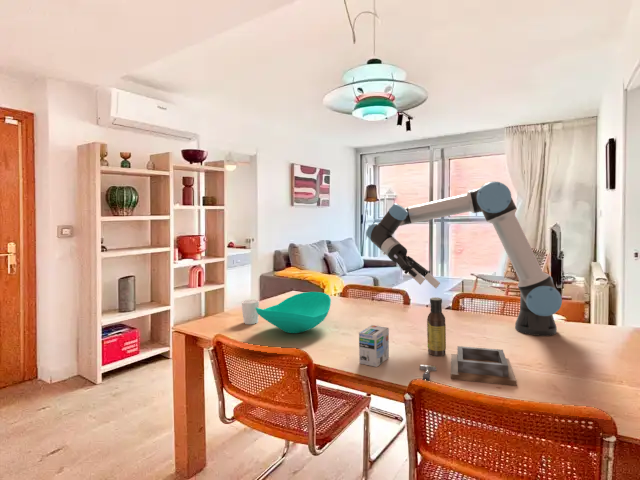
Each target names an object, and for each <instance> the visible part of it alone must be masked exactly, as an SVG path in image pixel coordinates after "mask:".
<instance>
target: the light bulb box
mask: <svg viewBox="0 0 640 480" xmlns="http://www.w3.org/2000/svg"><path fill="white" fill-rule="evenodd" d="M389 333H390V328H389V327H387V326H379V325H374V324H371V325H369V326H368V327H367V328H364V329H363V330H362V331H360V332H358V349H359V350H358V351H359V354H358V355H359V359H358V360H359V361H358V362H359V364H361V365H365V366H366V365H367V366H370V367H375V368H377V367H379V366H380V365H381V364H382V363H384V362H386V360H388V359H389V358H390V357H389V356H390V347H389V346H390V345H389V343H390V341H389V339H390V337H389Z"/></svg>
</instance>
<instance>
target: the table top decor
mask: <svg viewBox="0 0 640 480" xmlns="http://www.w3.org/2000/svg"><path fill="white" fill-rule="evenodd" d="M331 303H332V299H331V297H330V295H329V294H327V293H326V292H321V291H306V292H301V293H296V294H294V295H292V296H289V297H288V298H286V299H284V300H282V301H281V302H279V303H278V304H274V305H272V306H268V307H266V308H264V309H263V308H261V307H259V308H256V311H257V313H258V314H259V317H261V318H262V319H263V320H265V321H267V323H268V322H269V323H270V324H271V325H273V326H274V327H276V328H278V329H279V330H282V331H283V332H285V333H288V334H299V333H304V332H306V331H309V330H311V329H314V328H315V327H318V325H320V324H321V323H322V322H324V321H325V319H326V317H327V316H328V315H329V314H328V313H329V311H330V309H331V305H332V304H331Z"/></svg>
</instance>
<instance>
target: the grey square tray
mask: <svg viewBox="0 0 640 480" xmlns="http://www.w3.org/2000/svg"><path fill="white" fill-rule="evenodd" d="M456 350H457V353H450V357H451V359H450V379H451V380H458V381H467V382H475V383H476V382H477V383H487V384H494V385H495V384H497V385H505V386H514V387H515V386H517V382H518V381H517V378H516V375H515V373H514V369H513V367H512V364H511V362H510V359H509V358H506V355H505V352H504V349H501V348H500V349H498V348H497V349H496V348H486V347H475V346H472V347H471V346H462V345H461V346H460V345H457V348H456Z"/></svg>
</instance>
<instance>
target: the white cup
mask: <svg viewBox="0 0 640 480" xmlns="http://www.w3.org/2000/svg"><path fill="white" fill-rule="evenodd" d="M259 305H260V301H259V299H245V300H243V301H241V311H242V318H243V319H242V320H243V324H244V323H245V325H255V323H256V324H258V323H259V317H260V315H259V314H258V313H257V311H256V308H260V307H259Z"/></svg>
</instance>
